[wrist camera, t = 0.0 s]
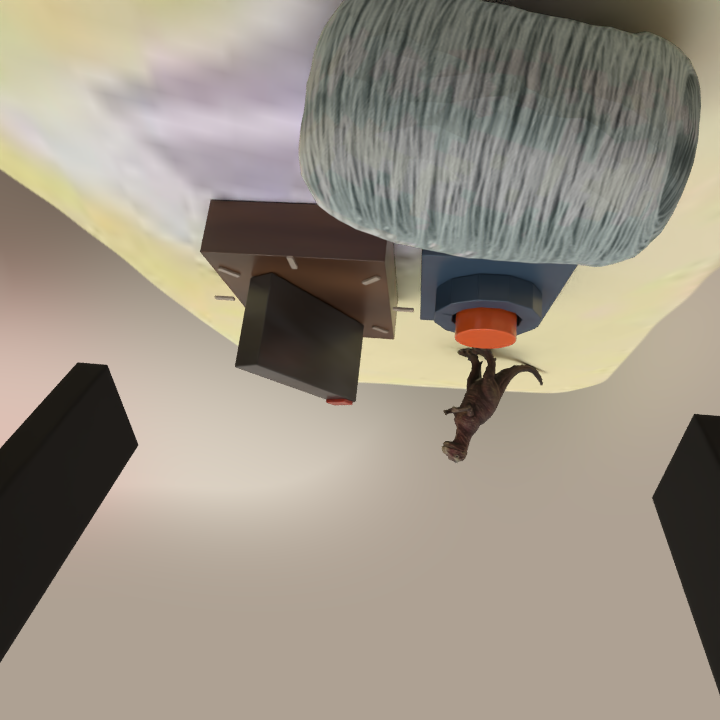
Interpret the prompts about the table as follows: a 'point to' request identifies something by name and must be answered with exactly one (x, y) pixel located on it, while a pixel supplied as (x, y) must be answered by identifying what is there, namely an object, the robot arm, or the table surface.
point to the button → (486, 327)
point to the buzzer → (488, 288)
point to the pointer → (299, 341)
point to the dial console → (305, 258)
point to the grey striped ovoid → (497, 130)
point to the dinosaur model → (479, 399)
